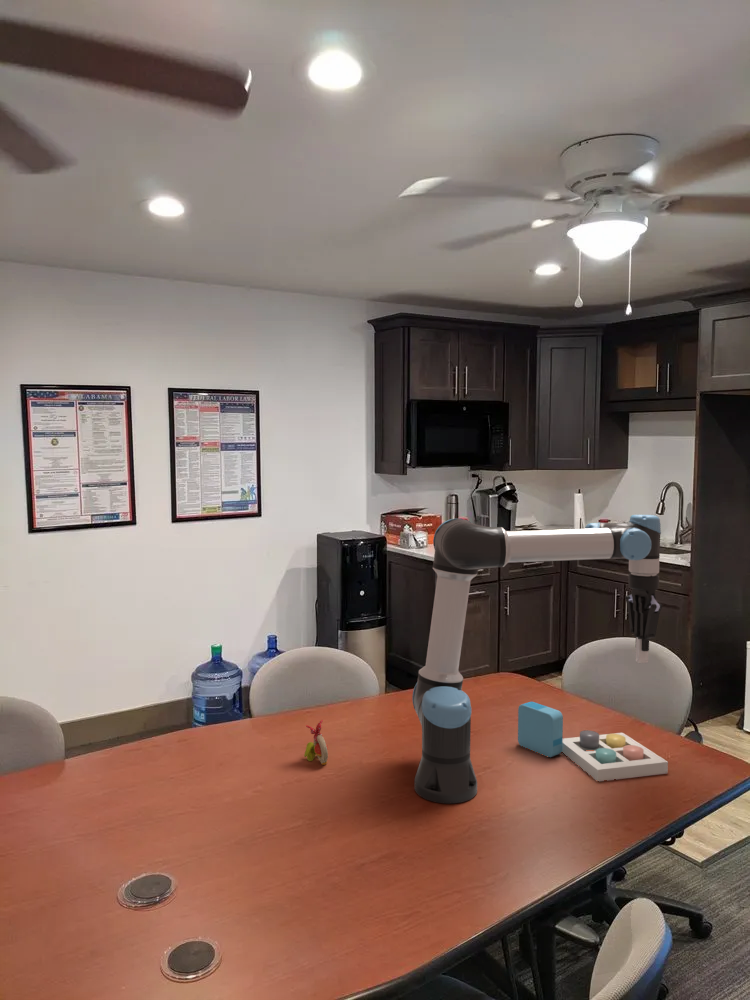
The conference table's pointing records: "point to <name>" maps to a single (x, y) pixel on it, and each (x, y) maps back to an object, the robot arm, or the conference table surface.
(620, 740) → the mustard button
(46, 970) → the conference table surface
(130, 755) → the conference table surface
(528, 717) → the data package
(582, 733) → the charcoal button
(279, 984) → the conference table surface
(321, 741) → the bird rattle
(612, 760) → the teal button
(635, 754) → the coral button
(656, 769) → the tray
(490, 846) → the conference table surface
